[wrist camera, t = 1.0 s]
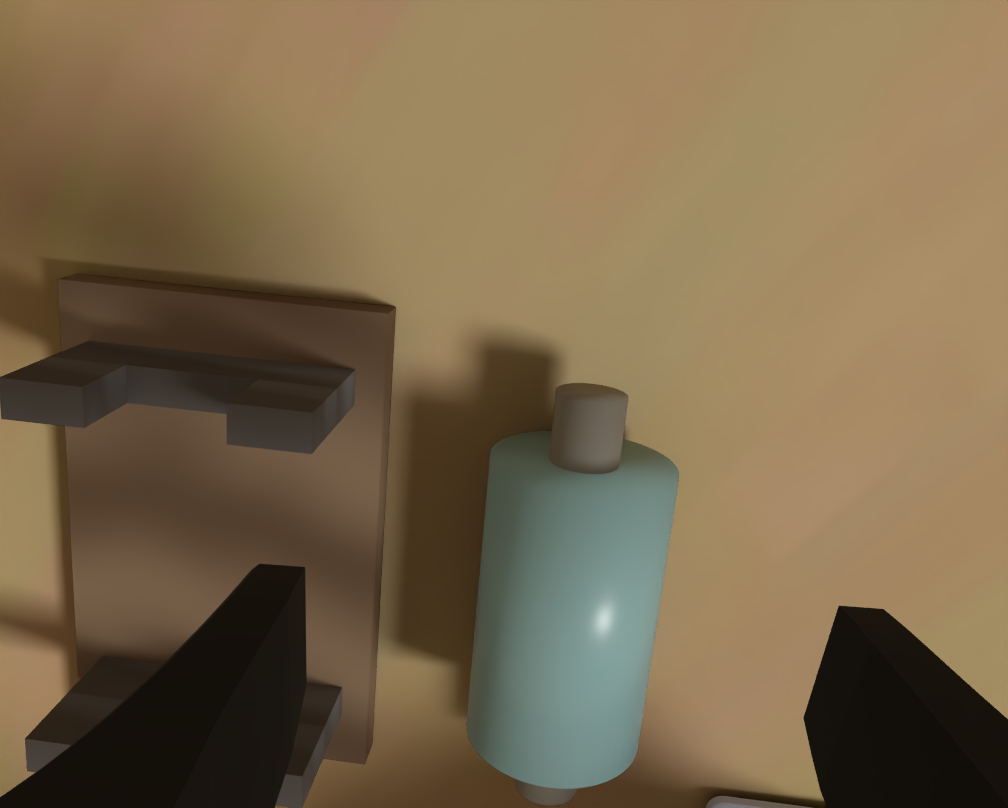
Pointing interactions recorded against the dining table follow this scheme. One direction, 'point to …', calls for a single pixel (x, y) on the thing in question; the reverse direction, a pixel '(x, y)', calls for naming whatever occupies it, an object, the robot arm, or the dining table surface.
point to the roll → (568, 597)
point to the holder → (217, 487)
